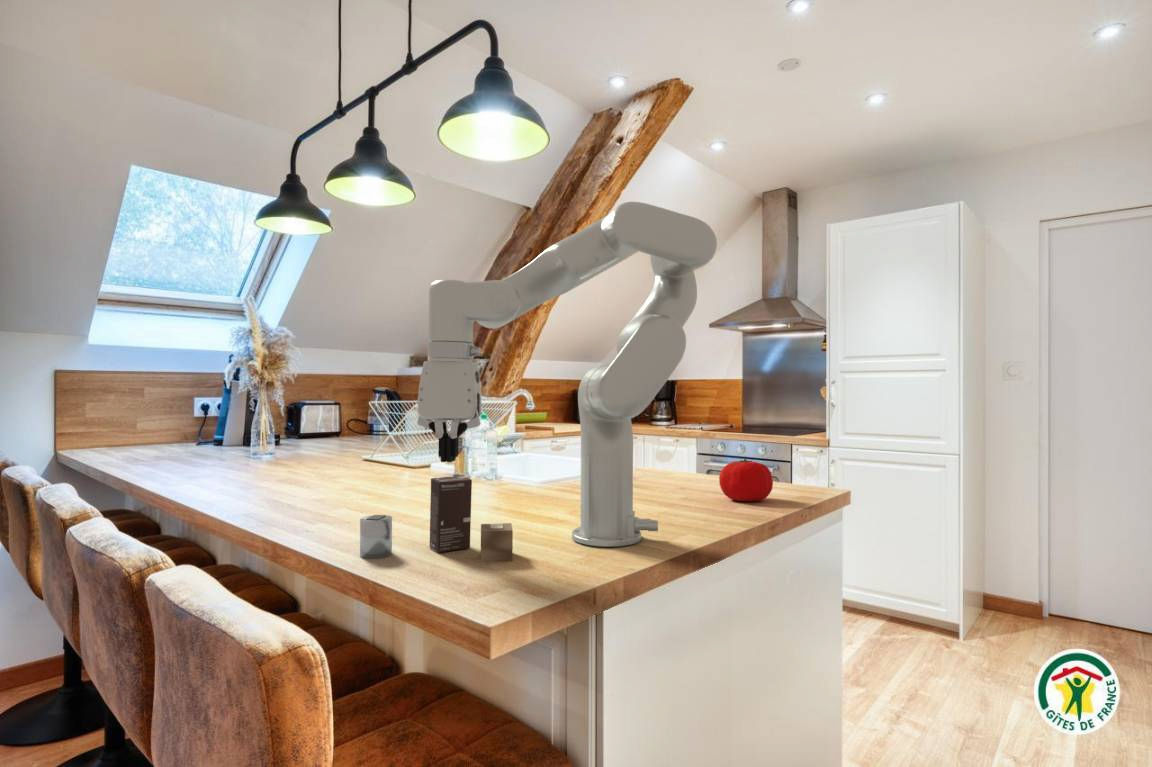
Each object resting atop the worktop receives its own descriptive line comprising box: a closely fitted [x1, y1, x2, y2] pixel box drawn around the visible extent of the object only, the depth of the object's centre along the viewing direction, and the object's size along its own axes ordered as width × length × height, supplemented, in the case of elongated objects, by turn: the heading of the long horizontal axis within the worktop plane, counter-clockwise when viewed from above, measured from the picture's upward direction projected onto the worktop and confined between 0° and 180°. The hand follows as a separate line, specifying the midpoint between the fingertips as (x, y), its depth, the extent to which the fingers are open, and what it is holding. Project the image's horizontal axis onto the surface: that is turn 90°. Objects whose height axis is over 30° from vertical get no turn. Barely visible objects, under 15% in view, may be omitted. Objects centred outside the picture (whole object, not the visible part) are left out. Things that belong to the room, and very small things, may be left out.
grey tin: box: [359, 514, 393, 560], centre depth 101 cm, size 5×5×6 cm
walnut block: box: [480, 522, 514, 563], centre depth 100 cm, size 5×5×5 cm
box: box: [429, 475, 473, 554], centre depth 105 cm, size 6×4×12 cm
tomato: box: [718, 458, 774, 502], centre depth 149 cm, size 11×13×10 cm
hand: (448, 461), depth 105 cm, fingers closed
